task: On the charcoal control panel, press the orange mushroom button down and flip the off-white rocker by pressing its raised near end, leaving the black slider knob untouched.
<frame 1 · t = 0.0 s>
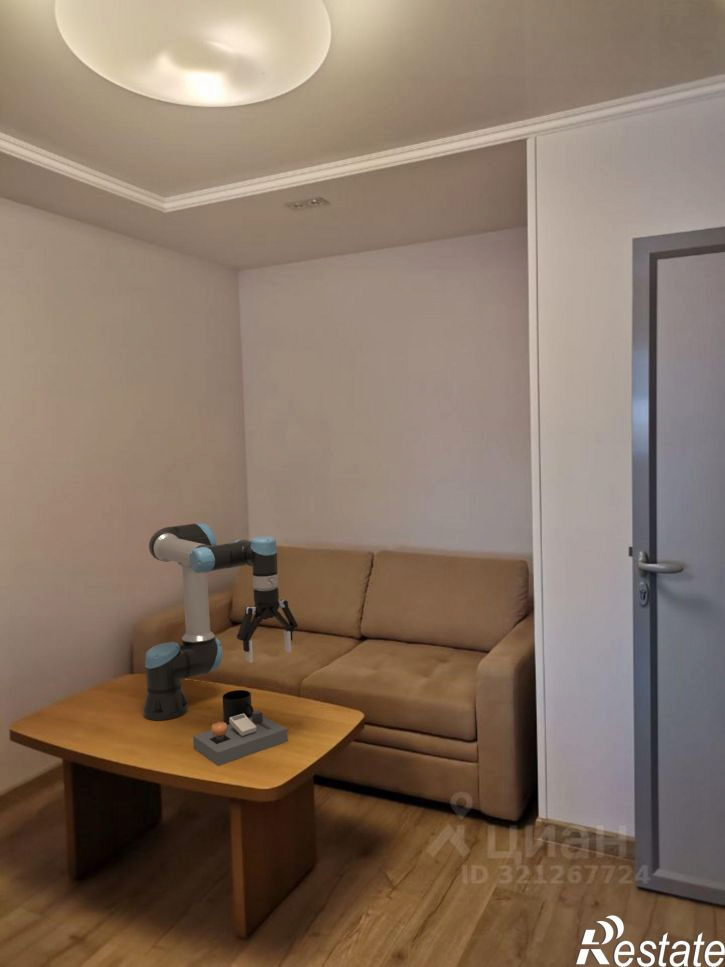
hand: (269, 656, 224), 28 cm above the table, fingers open, 13 cm apart
slider: (257, 716, 234), point 6 cm above the table, slide at 0.0 cm
rocker: (242, 724, 227), point 6 cm above the table, hinge at 15.0°
mug: (240, 722, 245), on the table
panel: (240, 744, 227), on the table
button: (219, 734, 222), point 5 cm above the table, slide at 0.0 cm
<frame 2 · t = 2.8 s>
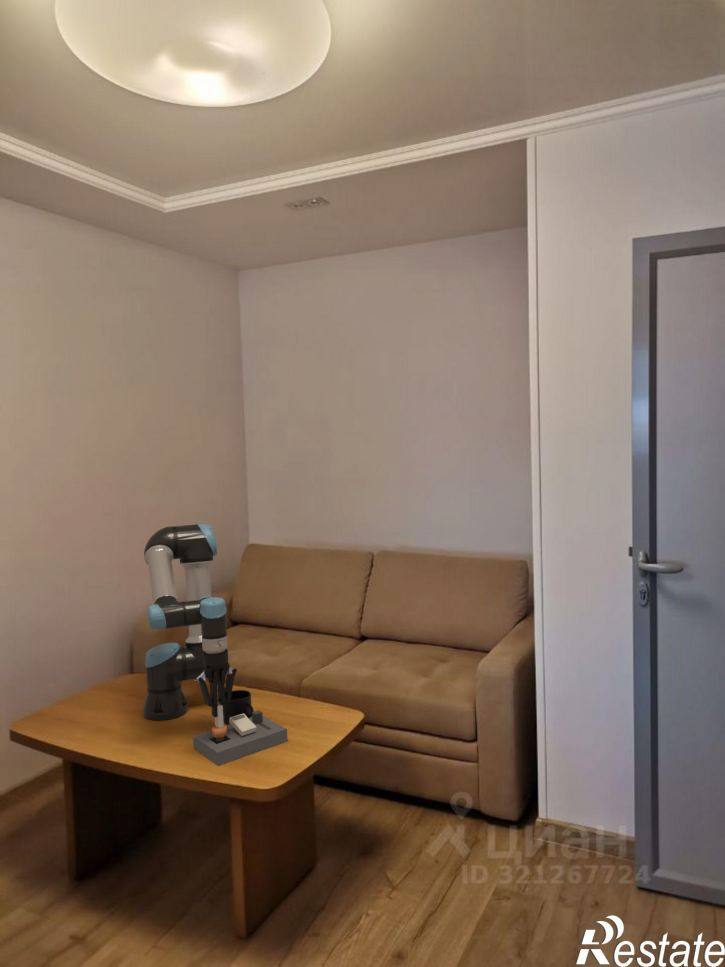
hand: (219, 726, 222), 8 cm above the table, fingers closed
button: (219, 736, 222), point 5 cm above the table, slide at 0.6 cm, touching gripper
everything else where it was.
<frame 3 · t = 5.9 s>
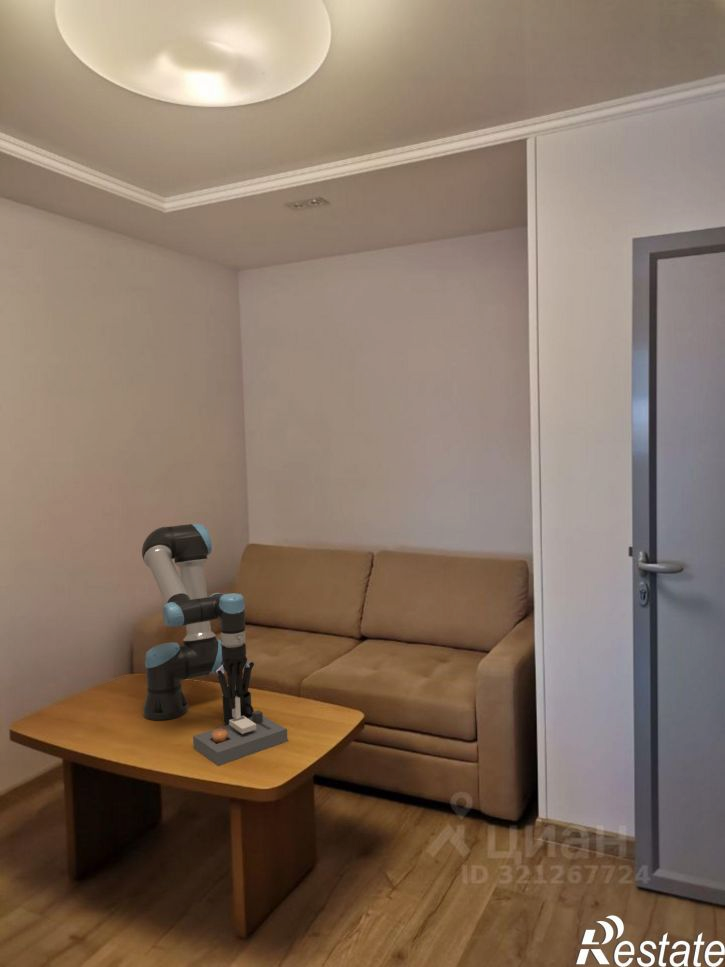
hand: (236, 717, 230), 7 cm above the table, fingers closed
rocker: (242, 724, 227), point 6 cm above the table, hinge at 2.8°, touching gripper
button: (220, 741, 222), point 3 cm above the table, slide at 2.2 cm
everything else where it was.
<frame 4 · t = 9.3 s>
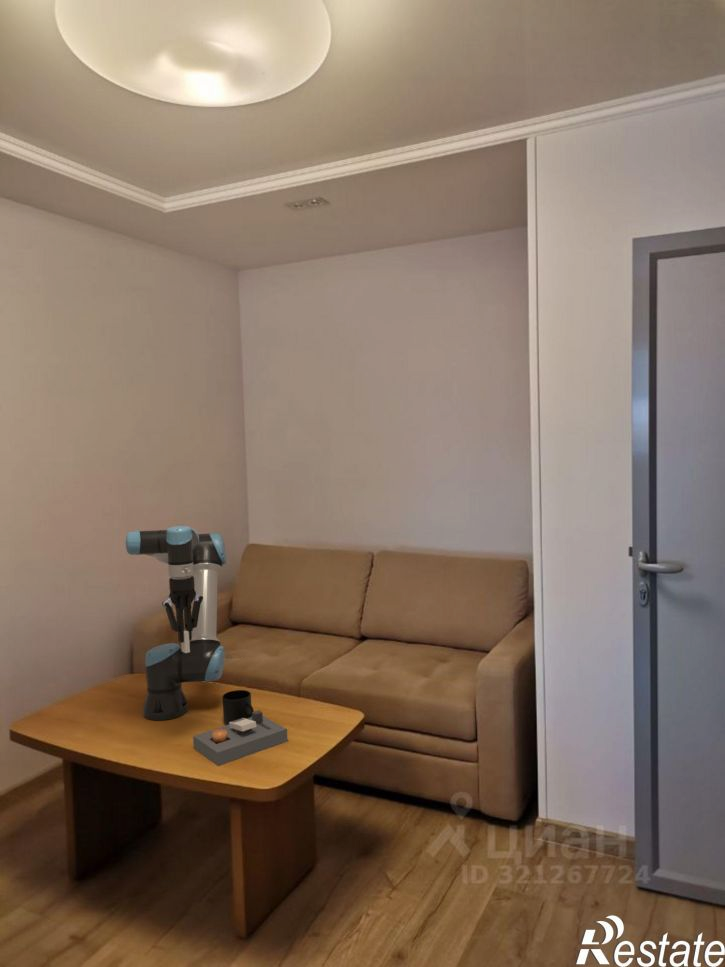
hand: (185, 651, 227), 29 cm above the table, fingers closed
rocker: (242, 724, 227), point 6 cm above the table, hinge at -8.5°
everything else where it was.
at the end: button slide at 2.2 cm; rocker at -8° (first picture: +15°); slider slide at 0.0 cm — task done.
